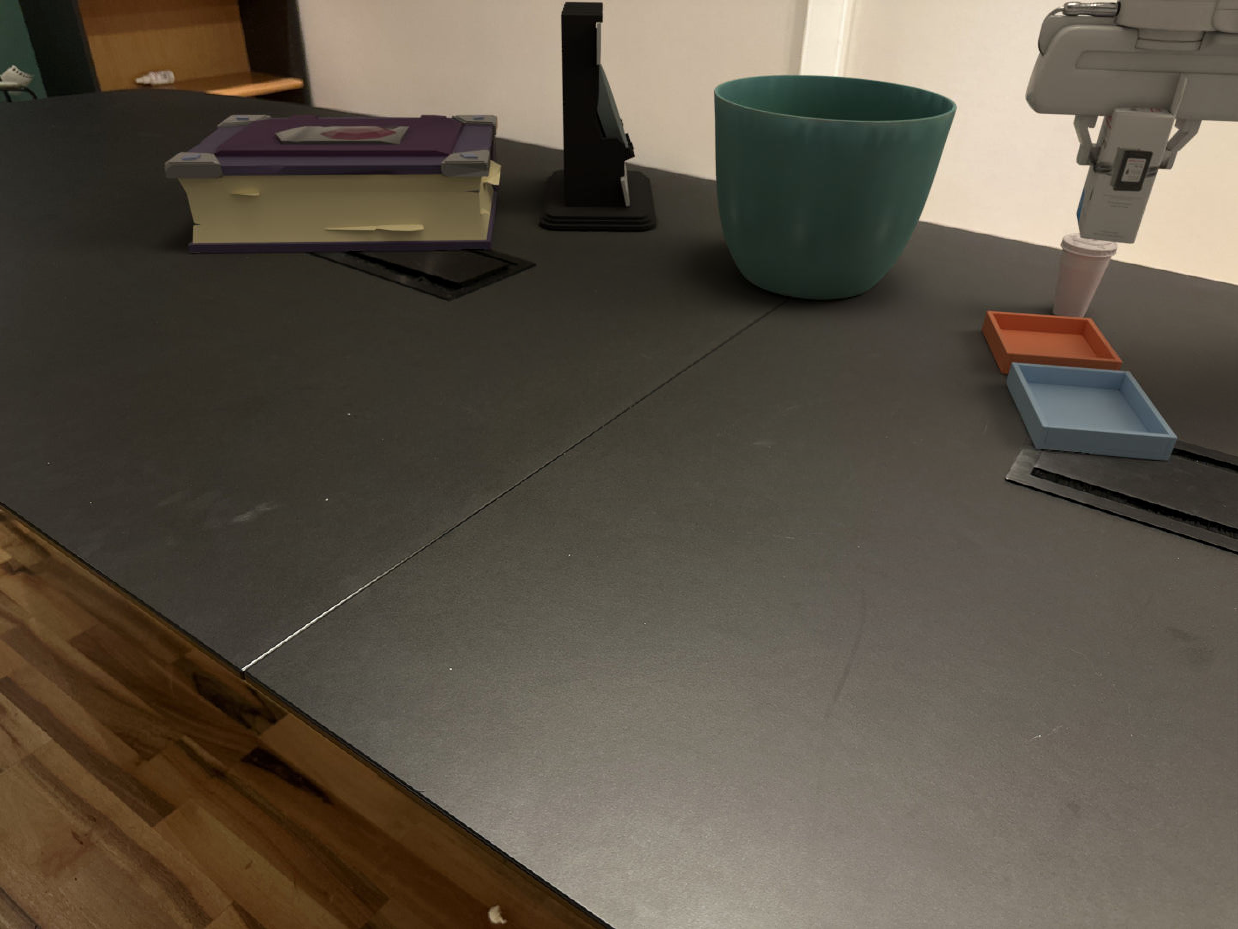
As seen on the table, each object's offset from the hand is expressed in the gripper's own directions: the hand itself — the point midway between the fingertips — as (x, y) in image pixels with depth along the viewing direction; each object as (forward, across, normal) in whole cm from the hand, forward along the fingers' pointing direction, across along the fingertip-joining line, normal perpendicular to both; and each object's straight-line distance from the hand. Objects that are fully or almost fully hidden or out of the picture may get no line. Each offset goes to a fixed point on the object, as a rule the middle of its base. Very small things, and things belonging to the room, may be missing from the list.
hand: (1123, 166), depth 86 cm
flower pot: (+24, -26, +29) cm, 46 cm away
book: (+24, -98, +42) cm, 109 cm away
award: (+24, -62, +58) cm, 88 cm away
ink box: (+6, 0, 0) cm, 6 cm away
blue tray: (+24, +1, -7) cm, 25 cm away
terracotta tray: (+24, +1, +9) cm, 25 cm away
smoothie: (+24, +7, +22) cm, 34 cm away
